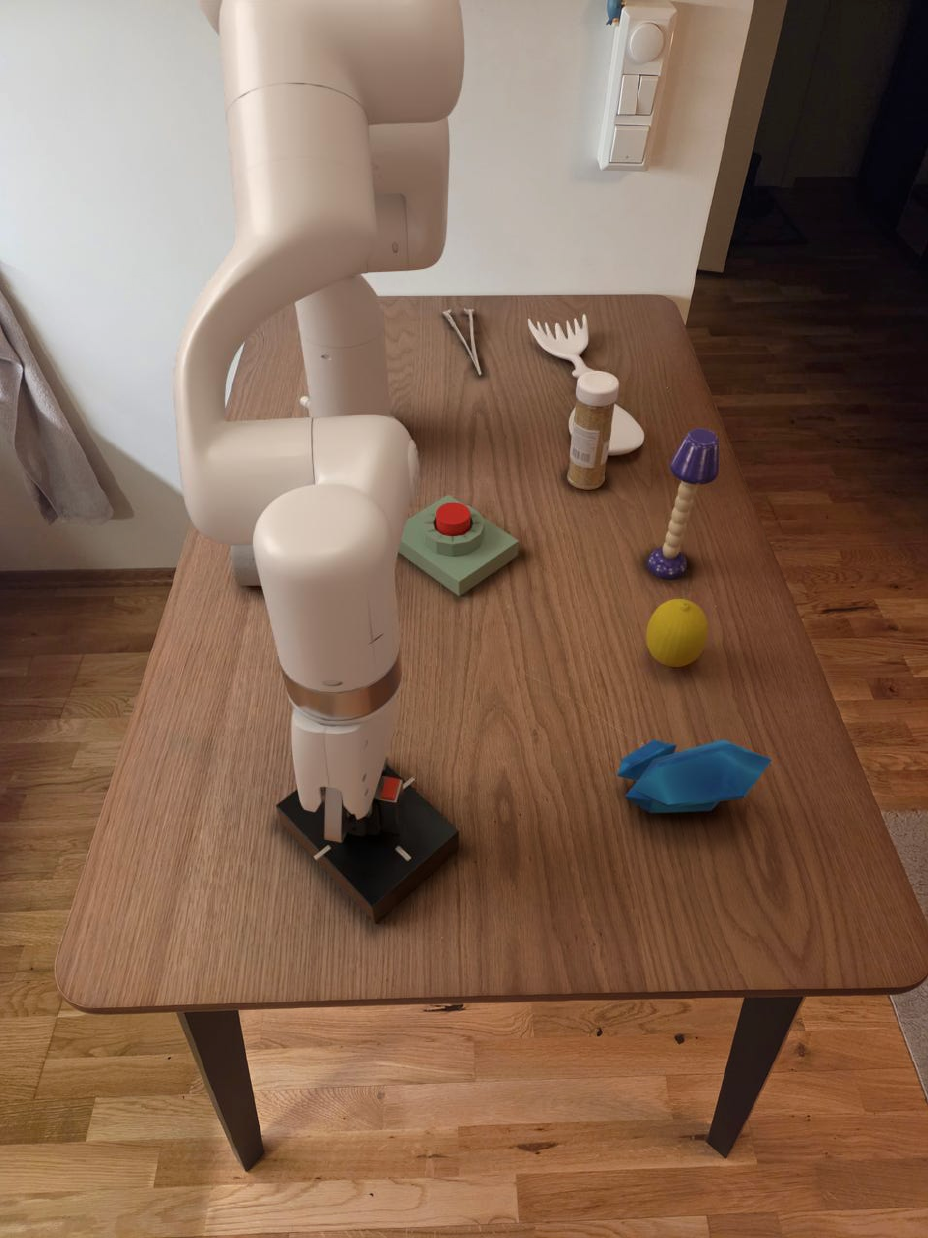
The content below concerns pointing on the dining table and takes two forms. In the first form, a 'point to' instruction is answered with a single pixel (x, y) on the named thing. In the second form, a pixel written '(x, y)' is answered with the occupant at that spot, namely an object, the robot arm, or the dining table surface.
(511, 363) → the dining table surface
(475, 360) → the tweezers
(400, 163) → the robot arm
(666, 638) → the lemon
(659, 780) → the crystal
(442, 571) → the button block
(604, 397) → the sprinkles bottle
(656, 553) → the toy lamp
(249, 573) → the grey cylinder
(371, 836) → the knob panel
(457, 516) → the red button
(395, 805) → the silver block red tip
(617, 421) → the white salad fork spoon
